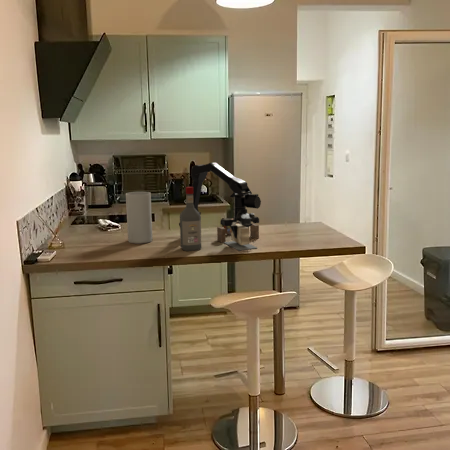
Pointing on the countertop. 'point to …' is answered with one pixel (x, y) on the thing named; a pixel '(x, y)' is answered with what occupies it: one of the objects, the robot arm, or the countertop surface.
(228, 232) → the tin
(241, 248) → the mat
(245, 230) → the block
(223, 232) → the holder
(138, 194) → the cylinder vase
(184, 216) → the liquor
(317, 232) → the countertop surface
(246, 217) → the robot arm
